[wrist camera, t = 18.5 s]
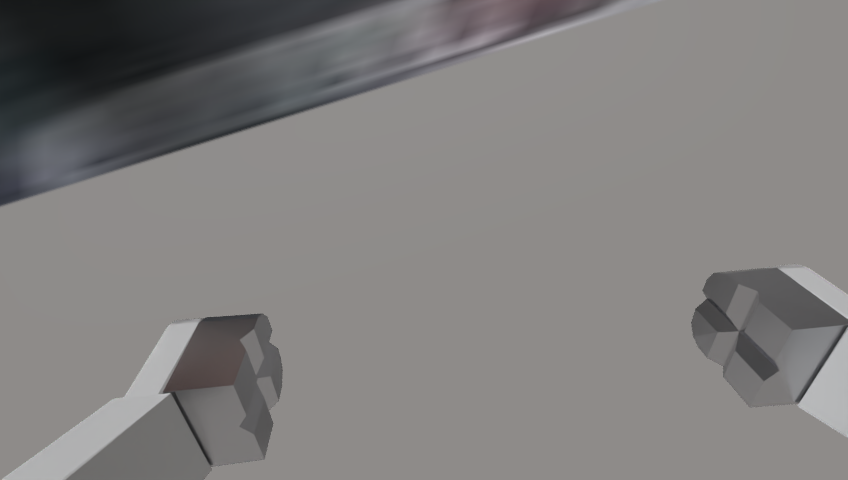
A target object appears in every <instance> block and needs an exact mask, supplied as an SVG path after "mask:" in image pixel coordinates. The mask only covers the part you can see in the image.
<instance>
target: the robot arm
mask: <svg viewBox="0 0 848 480" xmlns="http://www.w3.org/2000/svg"><path fill="white" fill-rule="evenodd" d="M703 292H704V294H705V296H706V298H707V299H706V300H705V301H704V302H703V303H702V304H701V305H699V306H698V307H697V308H696V309H695V312H694V315H693V319H692V322H691V324H692V331H693V337H694V339H695V341H696V343H697V345H698V347H699V348H700V350H701V351H702V352H703V353H704V354H705V356H706V357H707V358H709V359H710V360H712V361H714V362H716V363H718V364H720V365H722V366H723V377H724V378H725V379H726V380H727V382H728V383H729V384H730V385H731V386H732V387H733V389H734V390H735V391H736V392H737V393H738V394H739V396H740V397H741V398H742V399H743V400H744V401H745V402H746V404H747V405H748V406H749V407H761V406H775V405H786V404H798V407H800V408H801V409H803V410H804V411H806V412H808V413H809V414H811V415H812V416H814V417H815V418H817V419H819V420H820V421H822V422H823V423H825V424H827V425H828V426H830V427H831V428H833V429H835V430H836V431H838V432H839V433H841V434H842V435H844V436H846V437H847V438H848V294H846V293H845V292H843V291H841V290H840V289H839V288H837V287H836V286H834V285H833V284H831V283H830V282H828V281H827V280H825V279H824V278H822V277H821V276H819V275H818V274H816V273H815V272H814V271H812V270H811V269H809V268H807V267H804V266H801V265H797V264H790V265H781V266H772V267H767V268H760V269H749V270H739V271H728V272H718V273H713V274H712V275H711V276H710V277H709V278H708V279H707V281H706V283H705V286H704V288H703ZM271 333H272V328H271V326H270V323H269V320H268V318H267V316H265V315H264V314H251V315H236V316H223V317H207V318H203V319H202V318H200V319H186V320H176V321H174V322H172V323H171V324H169V325H168V327H167V328H166V330H165V332H164V333H163V335H162V336H161V338H160V339H159V341H158V343H157V344H156V346H155V348H154V349H153V351H152V352H151V354H150V356H149V357H148V359H147V361H146V362H145V364H144V366H143V367H142V369H141V370H140V372H139V374H138V375H137V377H136V379H135V380H134V382H133V384H132V385H131V387H130V388H129V390H128V392H127V393H126V395H125V396H124V398H116V399H113V400H111V401H110V402H108V403H107V404H106V405H104V406H103V407H101V408H100V409H99V410H97V411H96V412H94V413H93V414H92V415H91V416H89V417H88V418H87V419H85V420H83V421H82V422H81V423H79V424H78V425H77V426H75V427H74V428H72V429H71V430H70V431H68V432H67V433H65V434H64V435H63V436H61V437H60V438H58V439H57V440H56V441H54V442H53V443H52V444H50V445H49V446H47V447H46V448H45V449H43V450H42V451H40V452H39V453H38V454H36V455H35V456H33V457H32V458H31V459H29V460H28V461H27V462H25V463H24V464H23V465H21V466H20V467H18V468H17V469H15V470H14V471H13V472H11V473H10V474H9V475H7V476H6V477H4V478H3V479H2V480H204V479H205V477H206V476H207V475H208V474H209V473H210V471H211V470H212V468H211V467H213V466H220V465H228V464H235V463H242V462H250V461H257V460H264V459H265V455H266V451H267V447H268V443H269V439H270V435H271V431H272V427H273V421H272V418H271V415H270V412H269V410H270V409H271V408H272V407H273V406H274V405H275V404H276V403H277V402H278V401H279V397H280V393H281V388H282V363H281V357H280V354H279V351H278V348H276V347H275V346H274V345H272V344H271V343H269V340H270V336H271Z"/></svg>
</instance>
